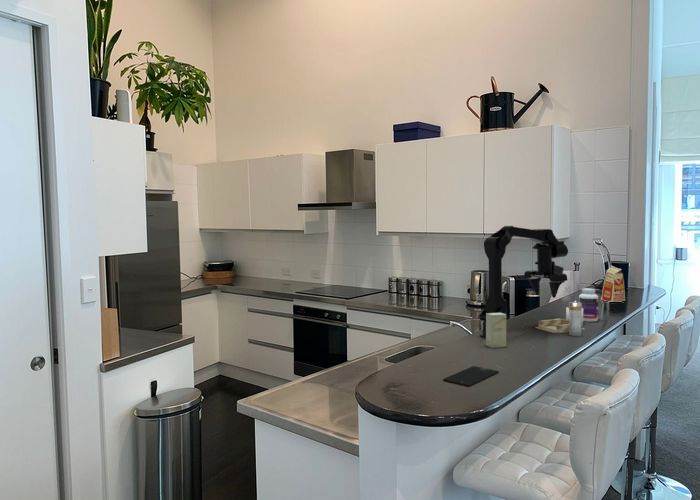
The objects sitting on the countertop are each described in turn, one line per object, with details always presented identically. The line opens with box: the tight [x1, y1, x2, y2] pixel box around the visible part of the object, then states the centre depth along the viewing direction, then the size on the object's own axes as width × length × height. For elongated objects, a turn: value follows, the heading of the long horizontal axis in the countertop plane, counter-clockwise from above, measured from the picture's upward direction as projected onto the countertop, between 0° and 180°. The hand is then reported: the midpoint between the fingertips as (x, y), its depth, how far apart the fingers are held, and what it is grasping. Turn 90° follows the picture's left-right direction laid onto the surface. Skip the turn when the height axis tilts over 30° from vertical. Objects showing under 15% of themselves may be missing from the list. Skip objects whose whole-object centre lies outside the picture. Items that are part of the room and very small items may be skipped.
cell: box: [568, 300, 582, 337], centre depth 207 cm, size 5×5×14 cm
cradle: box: [534, 318, 585, 334], centre depth 219 cm, size 16×11×3 cm
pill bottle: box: [578, 287, 599, 323], centre depth 235 cm, size 8×8×14 cm
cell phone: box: [442, 365, 500, 388], centre depth 155 cm, size 9×18×1 cm, turn 137°
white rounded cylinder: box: [565, 306, 584, 326], centre depth 229 cm, size 7×7×7 cm
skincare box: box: [485, 313, 507, 349], centre depth 191 cm, size 6×4×12 cm
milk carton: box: [600, 265, 626, 303], centre depth 285 cm, size 9×9×20 cm
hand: (545, 296), depth 216 cm, fingers open, 9 cm apart
